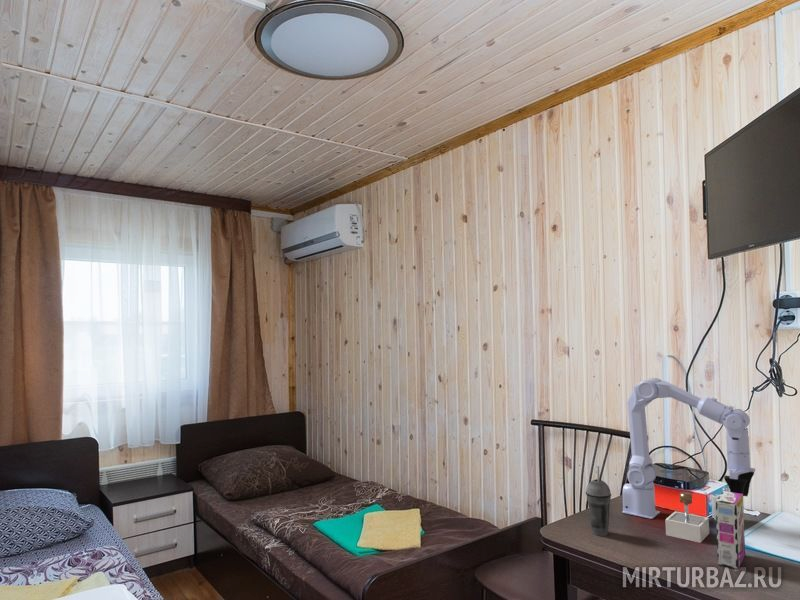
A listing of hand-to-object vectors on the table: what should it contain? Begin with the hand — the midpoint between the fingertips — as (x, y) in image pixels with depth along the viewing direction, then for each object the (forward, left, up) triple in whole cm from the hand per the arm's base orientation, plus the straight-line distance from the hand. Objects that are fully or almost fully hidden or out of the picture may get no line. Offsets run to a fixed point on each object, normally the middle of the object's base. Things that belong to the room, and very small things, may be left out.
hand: (740, 498), depth 163 cm
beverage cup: (-32, -25, -10) cm, 42 cm away
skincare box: (-6, +9, -10) cm, 15 cm away
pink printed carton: (+2, -22, -10) cm, 24 cm away
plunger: (-12, -10, -6) cm, 17 cm away
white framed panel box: (-12, -10, -10) cm, 19 cm away
